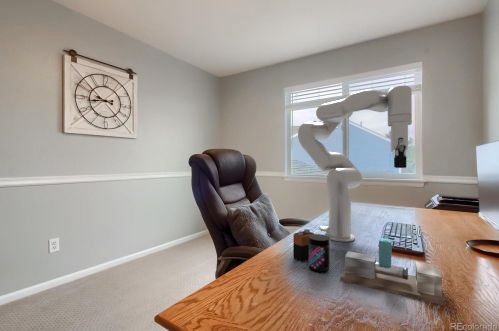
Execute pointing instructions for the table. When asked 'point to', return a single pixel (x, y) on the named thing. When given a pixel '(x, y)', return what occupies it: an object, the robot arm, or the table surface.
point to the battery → (301, 245)
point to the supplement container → (319, 253)
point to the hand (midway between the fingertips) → (399, 167)
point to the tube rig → (395, 278)
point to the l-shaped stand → (388, 262)
